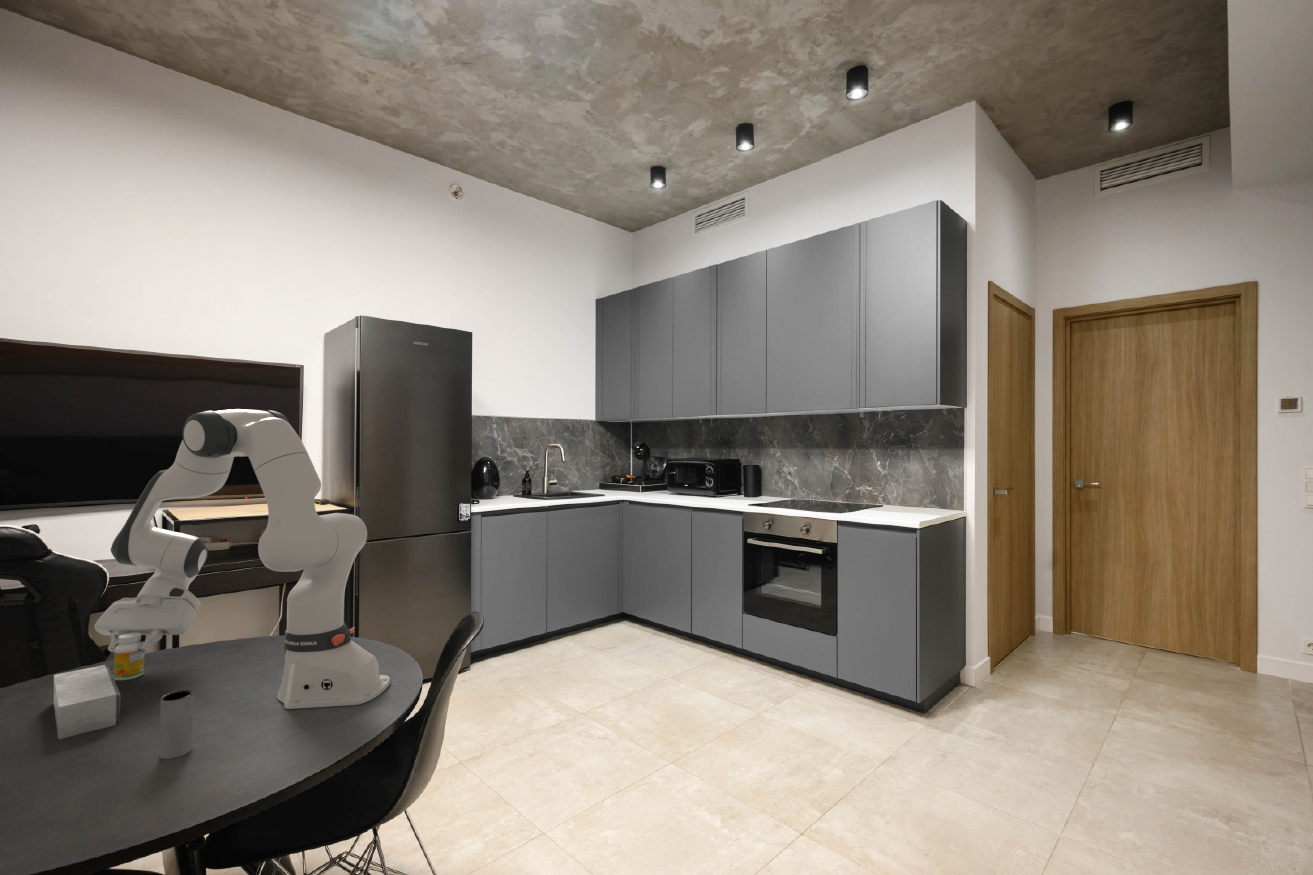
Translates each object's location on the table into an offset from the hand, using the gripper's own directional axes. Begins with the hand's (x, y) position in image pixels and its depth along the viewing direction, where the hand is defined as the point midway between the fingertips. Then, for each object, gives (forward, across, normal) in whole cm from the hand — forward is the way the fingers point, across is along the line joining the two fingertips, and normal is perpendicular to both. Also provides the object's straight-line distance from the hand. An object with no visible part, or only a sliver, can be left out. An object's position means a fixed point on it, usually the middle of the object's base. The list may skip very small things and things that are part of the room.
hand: (127, 650), depth 141 cm
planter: (+29, +36, -20) cm, 51 cm away
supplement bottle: (+4, 0, +5) cm, 7 cm away
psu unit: (+18, +7, -9) cm, 21 cm away
